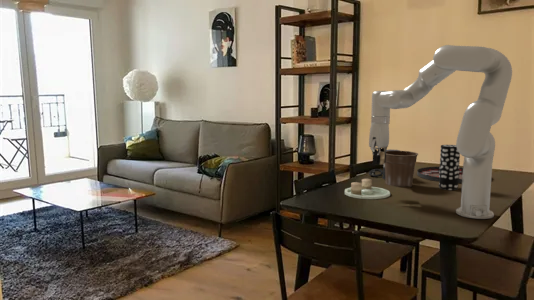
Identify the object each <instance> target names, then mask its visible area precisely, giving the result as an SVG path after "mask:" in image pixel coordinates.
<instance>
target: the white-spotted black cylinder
mask: <svg viewBox="0 0 534 300" xmlns="http://www.w3.org/2000/svg"><path fill="white" fill-rule="evenodd" d="M460 155H461V154H460V153H459V152H458V150H457V147H456V144H442V145H440V157H439V167H440V174H439V181H438V189H440V190H446V191H457V190H459V183H458V181H459V167H460V162H461V161H460V160H461V159H460V158H461V156H460Z"/></svg>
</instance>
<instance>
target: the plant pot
mask: <svg viewBox="0 0 534 300" xmlns="http://www.w3.org/2000/svg"><path fill="white" fill-rule="evenodd" d="M418 156H419V153H418V152H416V151H409V150H400V151H386V162H385V178H386V179H385V184H386V185H388V186H392V187H409V188H411V187H413V181H414V173H415V166H416V163H417V160H418V159H417V157H418Z"/></svg>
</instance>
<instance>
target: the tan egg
mask: <svg viewBox="0 0 534 300" xmlns="http://www.w3.org/2000/svg"><path fill="white" fill-rule="evenodd" d="M350 187H351V194H355V195H361V190H362V182H357V181H355V182H351V183H350Z"/></svg>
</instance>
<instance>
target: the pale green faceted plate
mask: <svg viewBox="0 0 534 300" xmlns="http://www.w3.org/2000/svg"><path fill="white" fill-rule="evenodd" d="M345 195H346V196H348V197H351V198H354V199H362V200H381V199H387V198H389V197H391V192H390V190H388V189H386V188H382V187H376V186H372V190H371V189H362V190H361V195H355V194H351V186H350V187H347V188H345V189H344V196H345Z"/></svg>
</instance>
